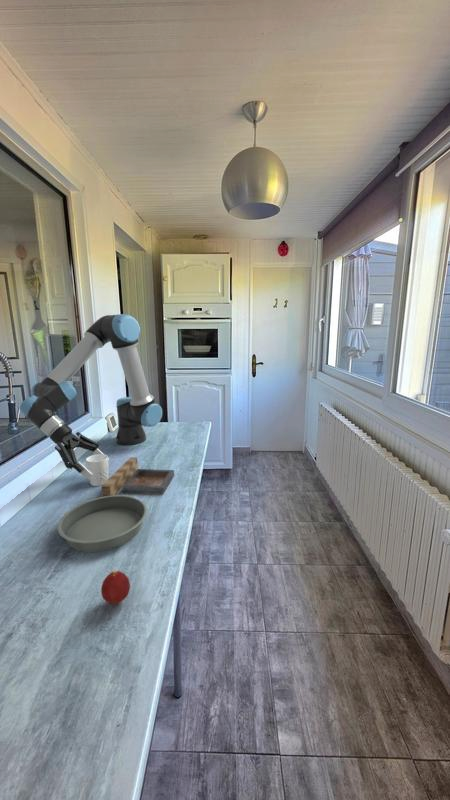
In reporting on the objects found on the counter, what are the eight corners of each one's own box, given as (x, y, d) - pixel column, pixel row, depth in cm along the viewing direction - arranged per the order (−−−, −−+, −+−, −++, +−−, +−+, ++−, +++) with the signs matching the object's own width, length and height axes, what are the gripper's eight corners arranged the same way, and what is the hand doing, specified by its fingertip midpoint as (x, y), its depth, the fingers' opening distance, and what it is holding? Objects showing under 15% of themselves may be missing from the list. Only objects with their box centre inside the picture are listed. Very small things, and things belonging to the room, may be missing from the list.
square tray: (137, 474, 135) (137, 469, 135) (174, 475, 133) (174, 470, 133) (123, 492, 120) (122, 486, 120) (163, 494, 119) (163, 487, 118)
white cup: (113, 477, 133) (111, 454, 130) (104, 487, 125) (102, 462, 123) (94, 477, 133) (92, 453, 131) (84, 486, 126) (81, 461, 124)
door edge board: (131, 468, 141) (130, 457, 140) (138, 468, 141) (137, 457, 140) (102, 499, 116) (101, 486, 115) (111, 500, 115) (109, 486, 114)
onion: (107, 593, 75) (103, 561, 73) (133, 590, 75) (130, 559, 74) (99, 614, 69) (95, 581, 68) (128, 612, 70) (125, 579, 68)
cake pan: (63, 516, 106) (61, 503, 105) (142, 501, 115) (141, 489, 114) (54, 567, 84) (52, 551, 83) (153, 543, 92) (152, 529, 91)
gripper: (69, 427, 139) (107, 462, 140) (29, 448, 115) (75, 490, 116) (80, 415, 137) (118, 450, 139) (41, 434, 113) (88, 476, 114)
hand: (99, 468), depth 127 cm, fingers open, 13 cm apart
